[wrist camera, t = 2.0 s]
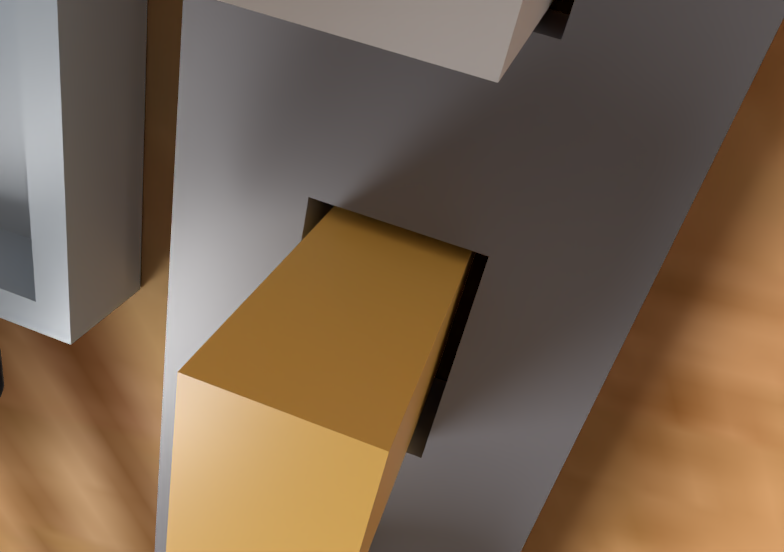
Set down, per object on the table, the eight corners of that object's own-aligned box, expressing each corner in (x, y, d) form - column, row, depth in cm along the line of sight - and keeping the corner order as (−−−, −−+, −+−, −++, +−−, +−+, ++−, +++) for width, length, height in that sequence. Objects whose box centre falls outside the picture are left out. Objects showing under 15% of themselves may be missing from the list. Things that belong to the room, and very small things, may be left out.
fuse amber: (438, 366, 15) (327, 658, 9) (334, 329, 16) (163, 588, 10) (489, 208, 13) (388, 451, 7) (368, 169, 13) (178, 372, 8)
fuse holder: (448, 650, 20) (428, 739, 18) (198, 547, 21) (151, 619, 19) (950, -445, 8) (1075, -575, 6) (311, -553, 9) (218, -698, 7)
